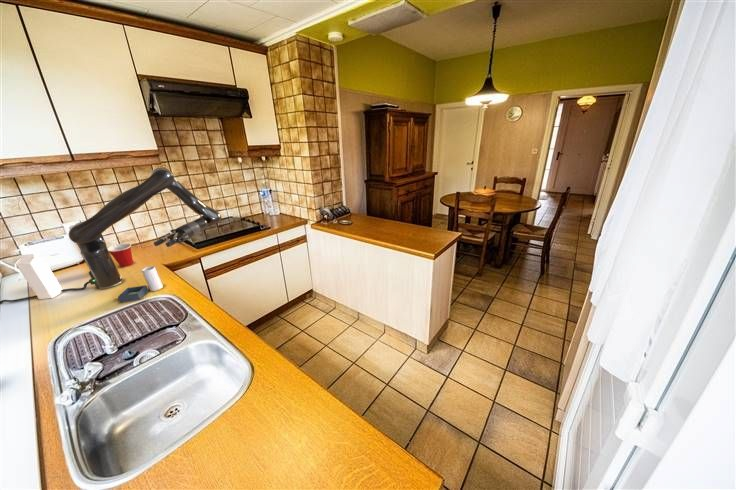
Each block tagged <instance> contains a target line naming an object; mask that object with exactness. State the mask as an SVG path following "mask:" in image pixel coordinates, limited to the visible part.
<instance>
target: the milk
mask: <svg viewBox="0 0 736 490" xmlns="http://www.w3.org/2000/svg"><path fill="white" fill-rule="evenodd" d="M19 257H20V259H19V260H18V261H17V263H16V267H17V268H18V270H19V271H20V273H21V274H22V276H23V277H24V279H25V280H26V282H27V284H28V285H29V287H30V288H31V289H32V292H34V294H35V295H37V297H36V298H38V300H45V299H46V300H47V299H53V298H55V297H57V296H58V295H60V294H62V293H63V292H61V290H63V287H62V286H61V284H60V282H59V281H58V278H57V277H56V276H55V274H54V273H53V272H54V271H52V269H51V267H50V266H49V264H48V262H47V261H46V260H45V257H41V256H40V257H39V256H35V254H33V253H31V254H21V255H19Z"/></svg>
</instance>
